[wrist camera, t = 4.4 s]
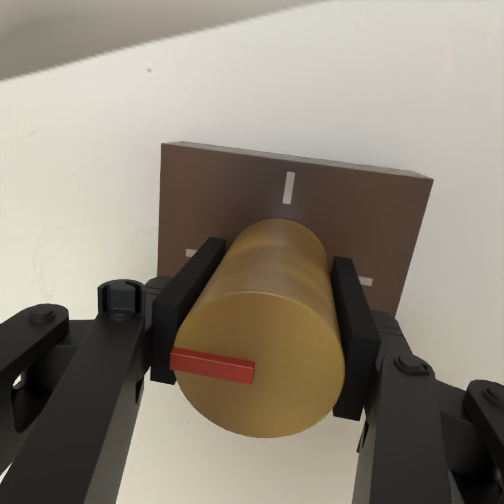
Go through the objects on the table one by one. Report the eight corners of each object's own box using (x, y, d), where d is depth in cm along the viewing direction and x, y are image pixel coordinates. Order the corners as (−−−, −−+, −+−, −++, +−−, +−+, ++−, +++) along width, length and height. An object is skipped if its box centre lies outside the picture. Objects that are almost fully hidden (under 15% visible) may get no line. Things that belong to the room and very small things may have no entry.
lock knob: (336, 226, 16) (365, 313, 9) (317, 318, 18) (328, 462, 10) (233, 210, 17) (171, 280, 9) (223, 302, 18) (164, 429, 11)
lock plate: (414, 171, 18) (435, 179, 15) (369, 342, 21) (379, 376, 18) (182, 141, 19) (159, 143, 16) (173, 307, 22) (153, 334, 20)
